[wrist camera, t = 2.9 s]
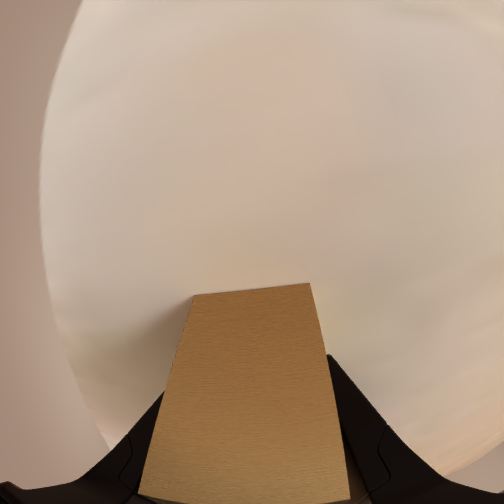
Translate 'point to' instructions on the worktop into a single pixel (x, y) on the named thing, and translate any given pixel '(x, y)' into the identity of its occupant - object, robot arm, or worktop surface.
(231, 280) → the worktop surface
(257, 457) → the brass block
